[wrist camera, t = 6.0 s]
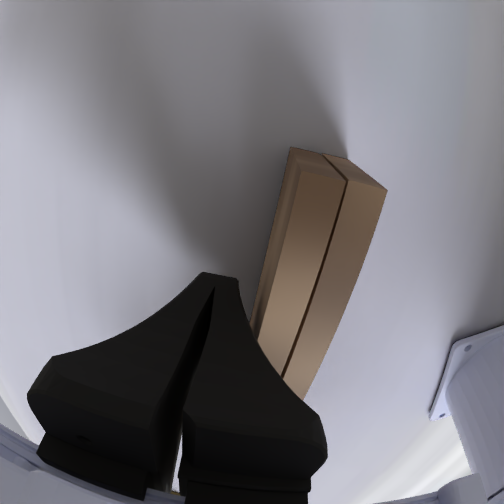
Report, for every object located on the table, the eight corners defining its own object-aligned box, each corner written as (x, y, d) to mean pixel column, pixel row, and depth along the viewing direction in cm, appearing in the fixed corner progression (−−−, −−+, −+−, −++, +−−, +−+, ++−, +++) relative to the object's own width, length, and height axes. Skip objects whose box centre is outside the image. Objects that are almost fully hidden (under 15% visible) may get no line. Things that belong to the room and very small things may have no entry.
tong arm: (246, 407, 16) (240, 467, 13) (229, 405, 16) (220, 464, 13) (319, 153, 10) (345, 181, 6) (290, 146, 10) (301, 170, 6)
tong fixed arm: (256, 437, 18) (252, 491, 15) (241, 435, 18) (236, 489, 14) (348, 159, 10) (391, 194, 6) (322, 153, 10) (352, 182, 6)
